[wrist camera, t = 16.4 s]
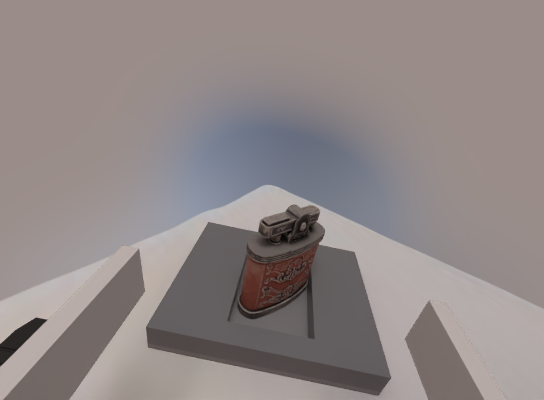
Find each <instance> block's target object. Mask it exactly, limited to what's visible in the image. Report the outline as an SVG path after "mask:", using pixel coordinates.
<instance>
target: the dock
mask: <svg viewBox="0 0 544 400" xmlns="http://www.w3.org/2000/svg"><path fill="white" fill-rule="evenodd" d="M257 233H259V232H254V231H249V230H244V229H239V228H234V227H230V226H225V225H220V224H215V223H210V222H208V224H207V226H206V227H205V229H204V231H203V232H202V234H201V236H200V237H199V239H198V241H197V242H196V244H195V246H194V247H193V249H192V251H191V252H190V254H189V256H188V258H187V259H186V261H185V263H184V264H183V266H182V268H181V269H180V271H179V273H178V274H177V276H176V278H175V279H174V281H173V283H172V284H171V286H170V288H169V289H168V291H167V293H166V294H165V296H164V298H163V299H162V301H161V303H160V304H159V306H158V308H157V310H156V311H155V313H154V315H153V316H152V318H151V320H150V321H149V323H148V325H147V326H146V331H147V341H148V347H149V348H154V349H159V350H164V351H168V352H173V353H178V354H183V355H188V356H192V357H197V358H202V359H207V360H211V361H216V362H221V363H226V364H231V365H235V366H240V367H245V368H250V369H254V370H259V371H264V372H269V373H274V374H278V375H283V376H288V377H293V378H298V379H302V380H307V381H312V382H317V383H321V384H326V385H331V386H336V387H341V388H345V389H350V390H355V391H360V392H364V393H369V394H374V395H379V394H380V392H381V391H382V390H383V388H384V387H385V386H386V384H387V383H388V382H389V380H390V379H391V376H390V373H389V369H388V366H387V362H386V359H385V355H384V352H383V348H382V345H381V341H380V338H379V335H378V331H377V328H376V324H375V321H374V317H373V314H372V310H371V307H370V304H369V300H368V297H367V293H366V290H365V286H364V283H363V279H362V276H361V273H360V269H359V266H358V262H357V259H356V255H355V252H351V251H346V250H342V249H337V248H332V247H327V246H322V245H318V248H317V251H316V254H315V257H314V260H313V263H312V266H311V269H310V272H309V275H308V278H307V280H308V284H307V287H306V289H305V291H304V292H303V293H302V294H301V295H300V296H299V297H298V298H297V299H296V300H294V301H293V302H291V303H290V304H289V305H287V306H286V307H284V308H282V309H280V310H278V311H276V312H274V313H272V314H269V315H266V316H264V317H261V318H258V319H253V320H251V319H247V318H245V317H243V316H242V315H241V314H240V313H239V310H238V307H237V303H238V298H239V295H240V294H241V291H242V285H243V279H244V273H245V267H246V261H247V255H248V254H247V251H246V247H247V242H248V239H249V238H250V237H251V236H253V235H255V234H257Z"/></svg>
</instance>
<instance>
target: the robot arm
mask: <svg viewBox="0 0 544 400" xmlns="http://www.w3.org/2000/svg"><path fill="white" fill-rule="evenodd" d="M144 292H145V288H144V281H143V274H142V266H141V259H140V252H139V248H133V247H128V246H122V247H121V248H120V249H119V250H118V251H117V252H116V253H115V254H114V255H113V256H112V257H111V258H110V259H109V260H108V261H107V262H106V263H105V264H104V265H102V266H101V267H100V268H99V269H98V270H97V271H96V272H95V273H94V274H93V275H92V276H91V277H90V278H89V279H88V280H87V281H86V282H85V283H84V284H83V285H82V286H81V287H80V288H79V289H78V290H77V291H76V292H75V293H74V294H73V295H72V296H71V297H70V298H69V299H68V300H67V301H66V302H65V303H64V304H63V305H62V306H61V307H60V308H59V309H58V310H57V311H56V312H55V313H54V314H53V315H52V316H51V317H50V318H49V319H48V320H46V319H40V318H35V319H33V320H31V321H30V322H28V323H27V324H25V325H23V326H22V327H20V328H18V329H17V330H15V331H14V332H13V333H12V334H11V335H10V336H9V337H8V338H7V339H5V340H4V341H3V342H2V343H1V344H0V400H69V399H70V398H71V396H72V395H73V393H74V392H75V391H76V389H77V388H78V386H79V385H80V383H81V382H82V381H83V379H84V378H85V376H86V375H87V373H88V372H89V371H90V369H91V368H92V366H93V365H94V363H95V362H96V361H97V359H98V358H99V356H100V355H101V353H102V352H103V351H104V349H105V348H106V346H107V345H108V343H109V342H110V341H111V339H112V338H113V336H114V335H115V333H116V332H117V331H118V329H119V328H120V326H121V325H122V323H123V322H124V321H125V319H126V318H127V316H128V315H129V313H130V312H131V311H132V309H133V308H134V306H135V305H136V303H137V302H138V301H139V299H140V298H141V296H142V295H143V293H144ZM405 340H406V343H407V345H408V348H409V350H410V353H411V355H412V358H413V361H414V363H415V366H416V368H417V371H418V374H419V376H420V379H421V381H422V384H423V387H424V389H425V392H426V394H427V397H428V399H429V400H506V398H505V396H504V395H503V393H502V392H501V390H500V388H499V387H498V385H497V384H496V382H495V380H494V379H493V377H492V376H491V374H490V372H489V371H488V369H487V368H486V366H485V364H484V363H483V361H482V359H481V358H480V356H479V355H478V353H477V351H476V350H475V348H474V347H473V345H472V343H471V342H470V340H469V339H468V337H467V335H466V334H465V332H464V331H463V329H462V327H461V326H460V324H459V322H458V321H457V319H456V318H455V316H454V314H453V313H452V311H451V310H450V308H449V306H448V305H447V303H442V302H436V301H431V300H429V301H428V303H427V304H426V306H425V308H424V309H423V311H422V312H421V314H420V316H419V317H418V319H417V320H416V322H415V324H414V325H413V327H412V328H411V330H410V332H409V333H408V335H407V336H406V338H405Z"/></svg>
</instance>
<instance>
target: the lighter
mask: <svg viewBox="0 0 544 400" xmlns="http://www.w3.org/2000/svg"><path fill="white" fill-rule="evenodd" d="M319 214H320V209H318V208H317V207H315V206H312V205H310V206H306V207H303V208H300V207H298V206H297V205H291V206H290V207H288V209H287V210H286V211H285V212H282V213H279V214H275V215H272V216H268V217H265V218H263V219H261V220H260V225H259V230H258V232H259V233H257V234H255V235H253V236H251V237H250V238H249V239H248V242H247V247H246V251H247V254H248V255H247V261H246V267H245V273H244V279H243V285H242V291H241V294H240V295H239V298H238V303H237V307H238V310H239V313H240V314H241V315H242V316H243V317H245V318H247V319H251V320H253V319H258V318H261V317H264V316H266V315H269V314H272V313H274V312H276V311H278V310H280V309H282V308H284V307H286V306H287V305H289V304H290V303H291V302H293V301H294V300H296V299H297V298H298V297H299V296H300V295H301V294H302V293H303V292H304V291H305V289H306V287H307V284H308V280H307V278H308V275H309V272H310V269H311V266H312V263H313V260H314V257H315V254H316V251H317V248H318V245H319V242H320V241H321V240H322V239H323V236H324V233H325V229H324V228H323V226H321V225H320V224H319V223H317V222H316V221H317V220H318V217H319Z"/></svg>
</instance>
